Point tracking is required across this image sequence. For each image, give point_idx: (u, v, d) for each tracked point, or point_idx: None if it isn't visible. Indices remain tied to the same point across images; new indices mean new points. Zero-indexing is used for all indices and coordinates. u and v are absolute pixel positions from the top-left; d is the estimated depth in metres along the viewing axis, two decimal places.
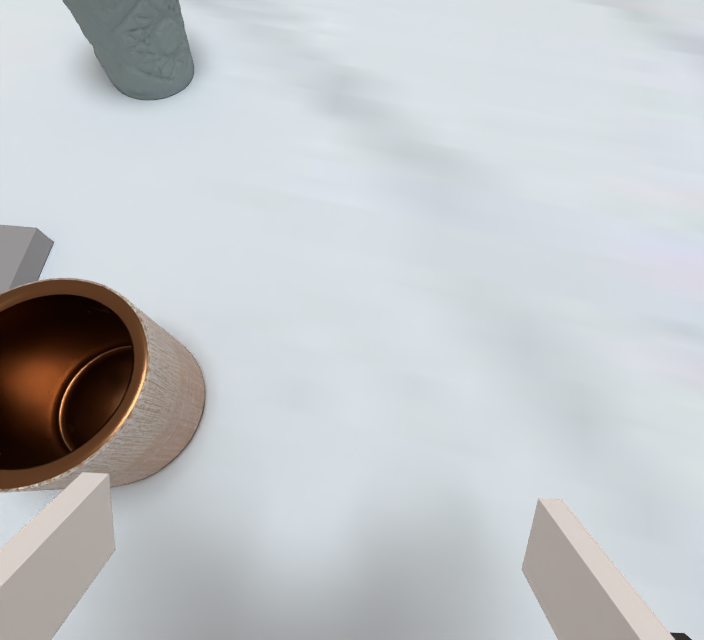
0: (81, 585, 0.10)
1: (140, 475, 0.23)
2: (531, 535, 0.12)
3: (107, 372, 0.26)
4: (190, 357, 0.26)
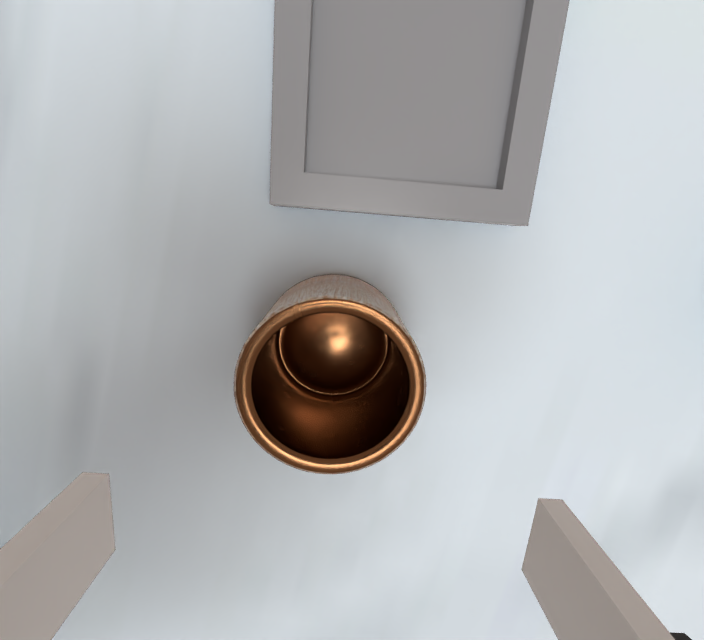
0: (80, 585, 0.10)
1: None
2: (531, 535, 0.12)
3: (360, 329, 0.28)
4: None
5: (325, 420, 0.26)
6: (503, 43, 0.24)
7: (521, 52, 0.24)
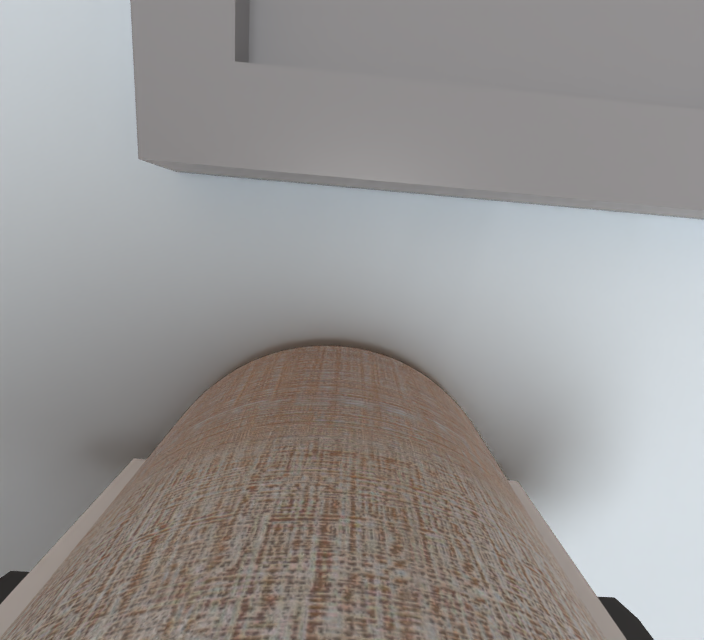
0: None
1: None
2: None
3: None
4: None
5: None
6: None
7: None
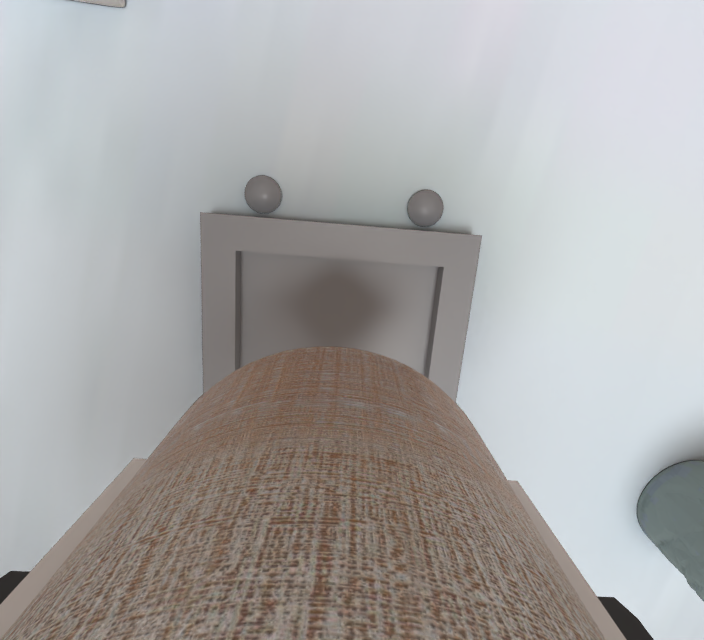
0: None
1: None
2: None
3: None
4: None
5: None
6: (416, 325, 0.27)
7: (431, 337, 0.26)
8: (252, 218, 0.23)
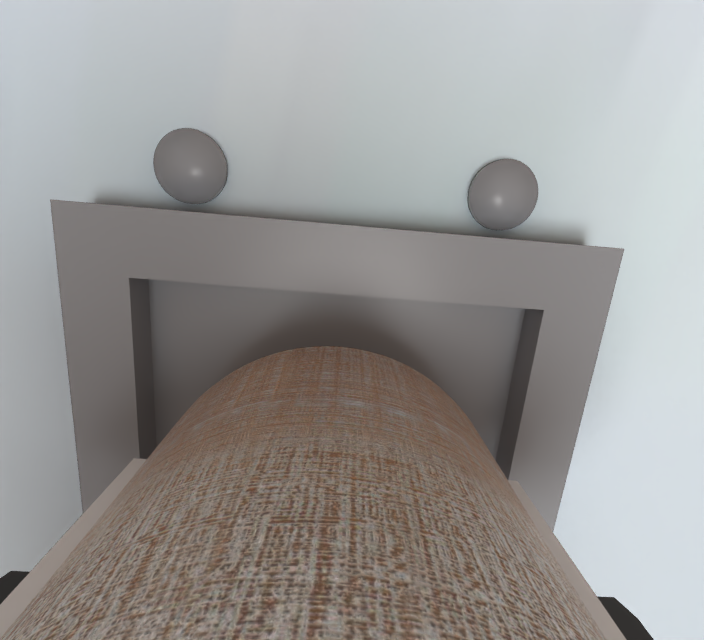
0: None
1: None
2: None
3: None
4: None
5: None
6: (479, 411, 0.15)
7: (507, 434, 0.14)
8: (159, 212, 0.11)
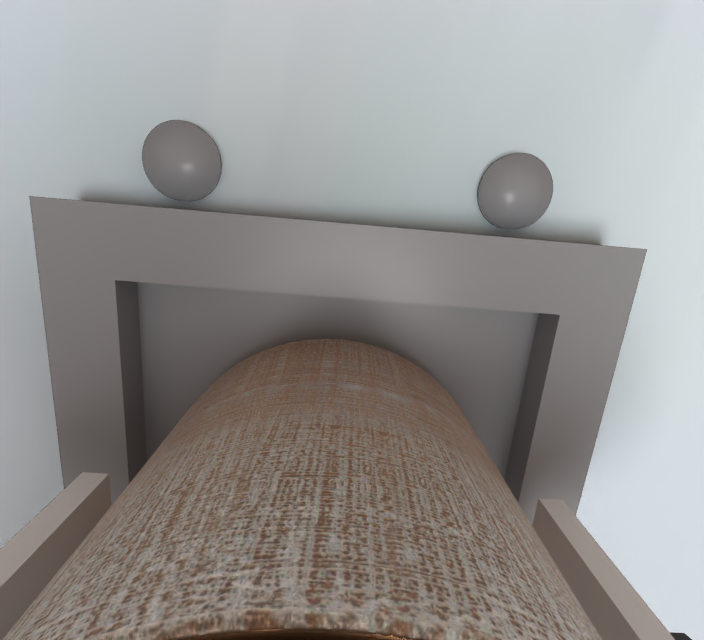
0: None
1: None
2: None
3: None
4: None
5: None
6: (488, 421, 0.14)
7: (519, 446, 0.13)
8: (147, 210, 0.11)
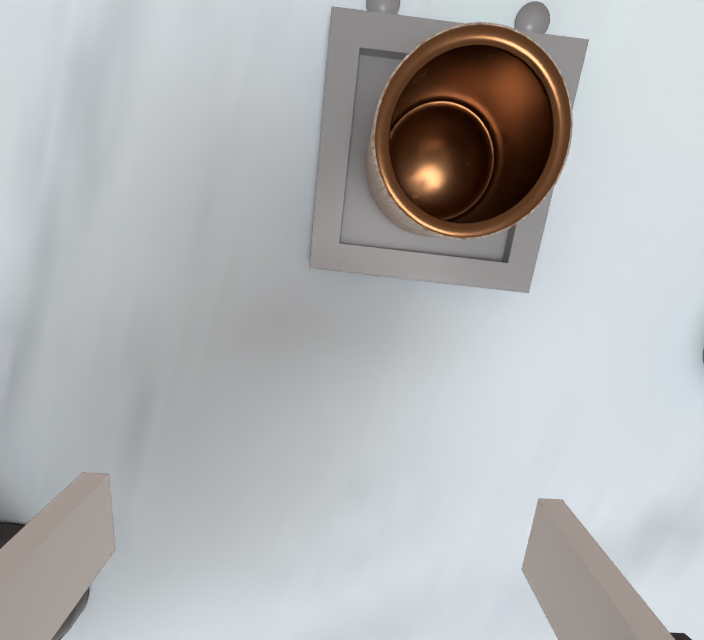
0: (80, 585, 0.10)
1: (373, 195, 0.27)
2: (531, 535, 0.12)
3: (468, 143, 0.27)
4: None
5: None
6: None
7: None
8: (378, 14, 0.26)
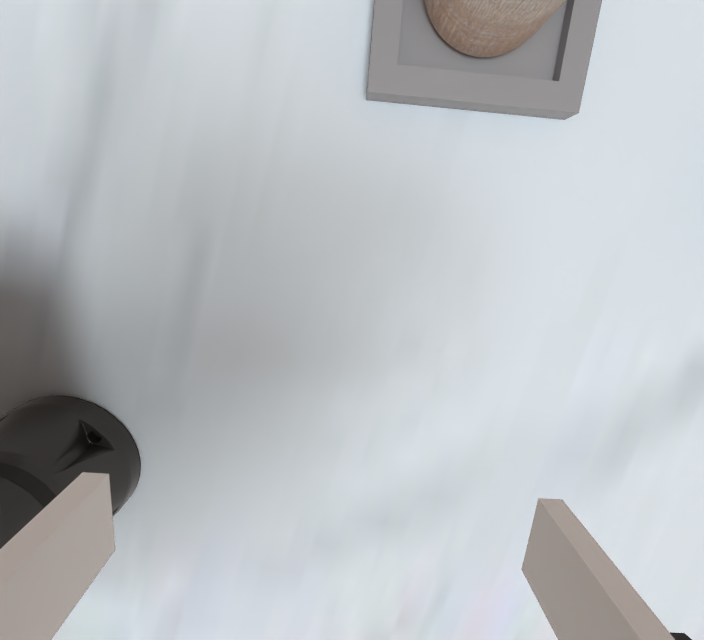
0: (80, 585, 0.10)
1: (433, 5, 0.28)
2: (531, 535, 0.12)
3: None
4: (529, 36, 0.29)
5: None
6: None
7: None
8: None
